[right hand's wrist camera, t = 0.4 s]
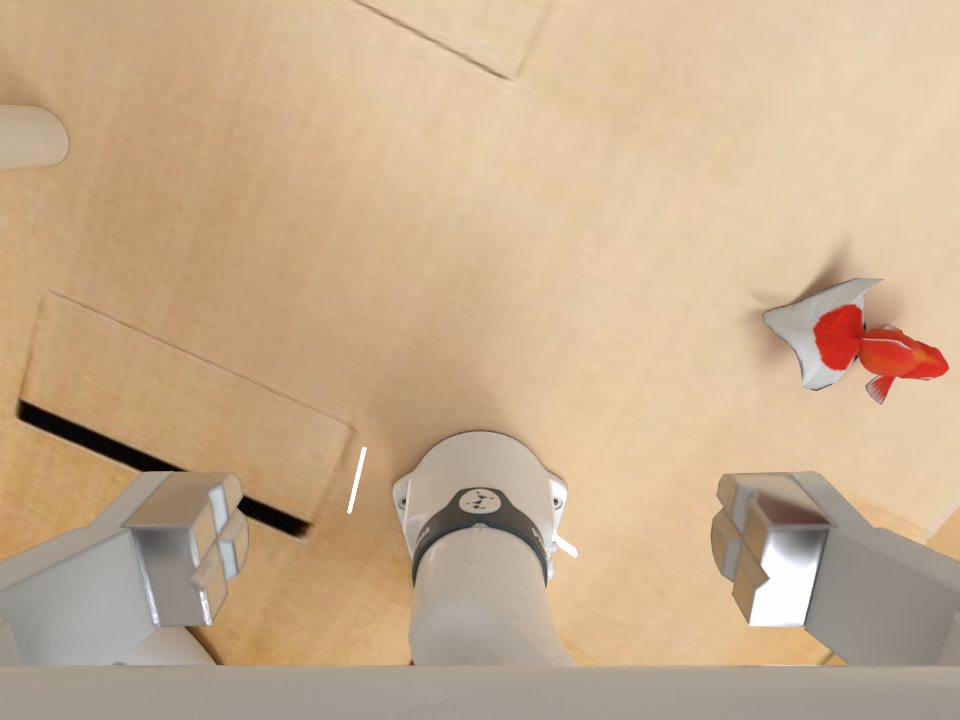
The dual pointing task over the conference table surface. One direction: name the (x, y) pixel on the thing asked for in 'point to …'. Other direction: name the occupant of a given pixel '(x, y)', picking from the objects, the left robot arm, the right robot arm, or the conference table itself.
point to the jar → (30, 137)
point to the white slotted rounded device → (167, 649)
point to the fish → (850, 341)
